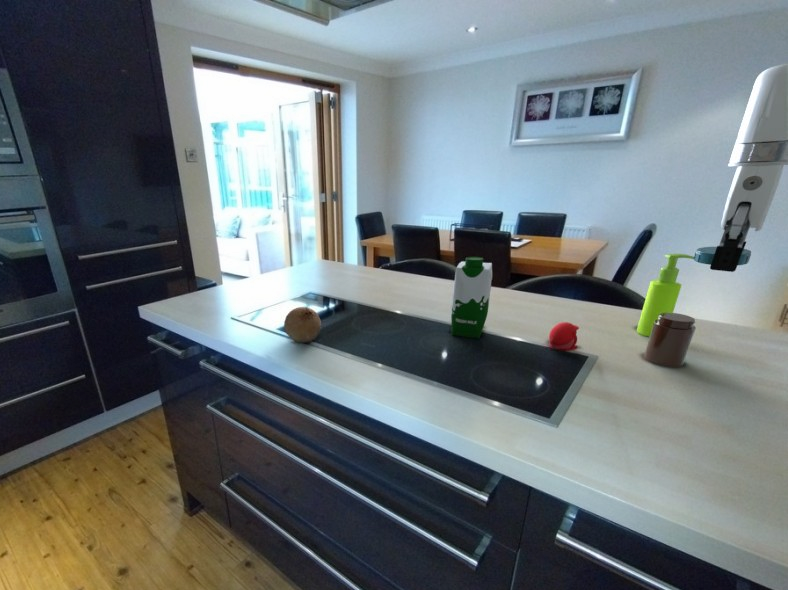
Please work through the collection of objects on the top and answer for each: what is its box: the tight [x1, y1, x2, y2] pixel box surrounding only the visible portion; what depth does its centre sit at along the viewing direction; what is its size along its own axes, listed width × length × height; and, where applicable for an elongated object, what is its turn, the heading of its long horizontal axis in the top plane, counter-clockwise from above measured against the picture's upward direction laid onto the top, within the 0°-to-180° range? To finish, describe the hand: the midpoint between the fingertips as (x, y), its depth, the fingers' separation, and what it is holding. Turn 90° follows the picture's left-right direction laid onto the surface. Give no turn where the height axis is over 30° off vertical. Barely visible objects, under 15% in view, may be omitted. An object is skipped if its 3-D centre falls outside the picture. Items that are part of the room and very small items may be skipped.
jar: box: [643, 312, 696, 368], centre depth 81 cm, size 7×7×11 cm
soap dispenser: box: [636, 253, 694, 338], centre depth 95 cm, size 6×7×20 cm
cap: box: [548, 321, 580, 352], centre depth 91 cm, size 8×6×6 cm
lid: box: [693, 246, 752, 266], centre depth 69 cm, size 7×7×2 cm
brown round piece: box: [283, 306, 322, 344], centre depth 100 cm, size 10×9×10 cm
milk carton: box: [450, 256, 493, 339], centre depth 99 cm, size 9×9×20 cm
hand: (724, 265), depth 69 cm, fingers closed on lid, 7 cm apart
